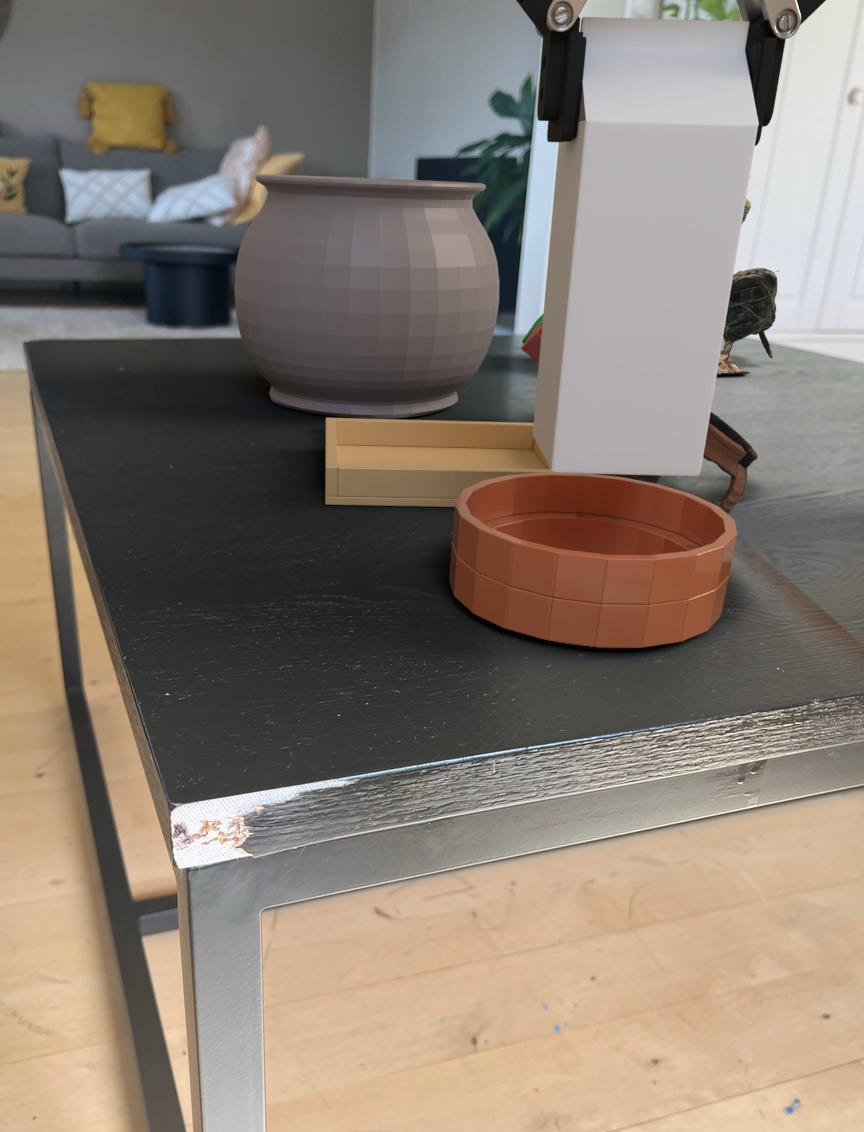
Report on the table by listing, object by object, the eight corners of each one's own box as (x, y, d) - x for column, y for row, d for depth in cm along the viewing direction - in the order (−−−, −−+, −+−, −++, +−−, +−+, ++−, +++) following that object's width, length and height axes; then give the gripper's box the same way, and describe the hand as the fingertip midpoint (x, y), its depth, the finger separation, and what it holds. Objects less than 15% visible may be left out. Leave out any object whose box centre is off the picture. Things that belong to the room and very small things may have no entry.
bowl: (668, 554, 60) (682, 474, 58) (762, 659, 47) (784, 561, 45) (437, 551, 59) (442, 469, 57) (468, 656, 46) (476, 556, 44)
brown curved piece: (618, 477, 77) (689, 389, 73) (707, 557, 73) (787, 469, 70) (549, 467, 67) (627, 365, 64) (648, 558, 64) (736, 456, 60)
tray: (540, 454, 81) (543, 422, 80) (582, 509, 68) (587, 473, 66) (325, 449, 80) (325, 417, 78) (325, 505, 66) (325, 467, 65)
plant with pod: (770, 383, 114) (808, 194, 106) (670, 373, 117) (699, 189, 109) (768, 371, 121) (804, 193, 113) (674, 363, 124) (702, 189, 116)
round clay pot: (184, 406, 92) (172, 171, 83) (314, 367, 112) (316, 175, 104) (430, 443, 83) (445, 183, 74) (523, 393, 103) (543, 185, 95)
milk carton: (700, 480, 47) (778, 9, 39) (550, 476, 47) (597, 4, 39) (663, 443, 53) (723, 32, 45) (531, 439, 53) (568, 28, 45)
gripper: (498, -469, 32) (466, 136, 40) (1008, -438, 33) (882, 147, 41) (468, -360, 39) (446, 140, 47) (893, -336, 40) (803, 149, 48)
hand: (650, 140), depth 44 cm, fingers closed on milk carton, 7 cm apart
